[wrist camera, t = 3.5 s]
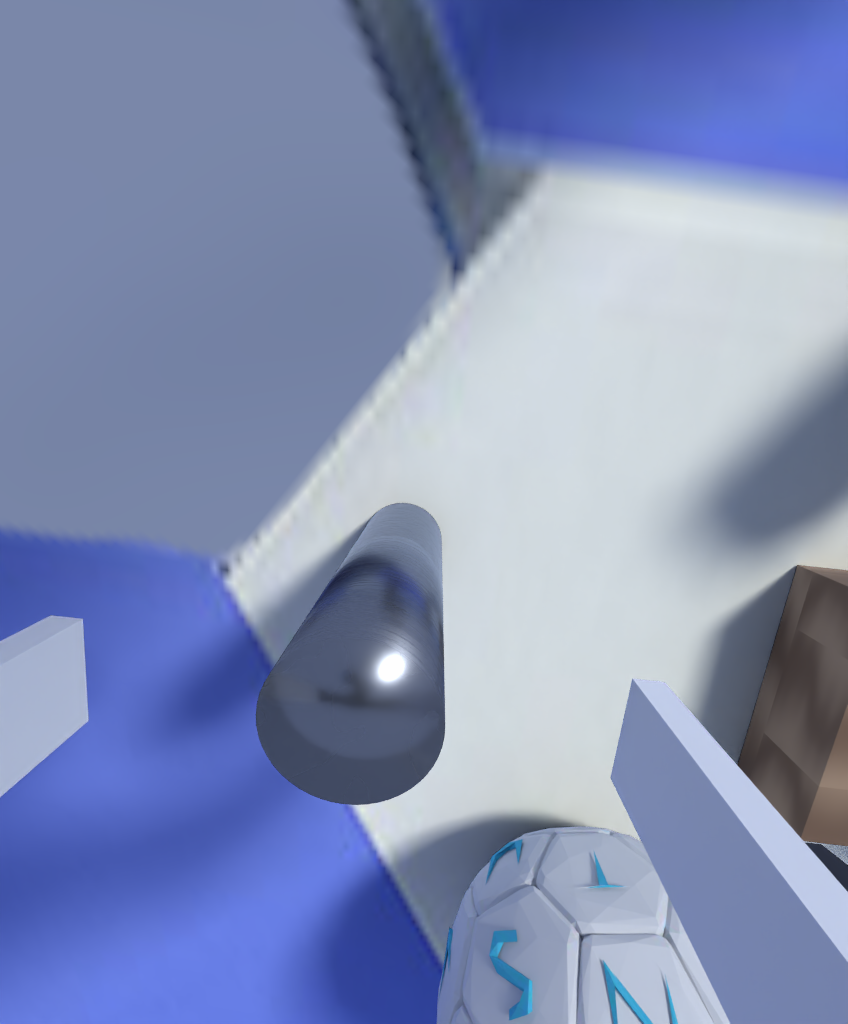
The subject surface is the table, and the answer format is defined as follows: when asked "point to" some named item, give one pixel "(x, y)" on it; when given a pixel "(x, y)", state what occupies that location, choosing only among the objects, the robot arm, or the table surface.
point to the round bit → (365, 670)
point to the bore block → (806, 711)
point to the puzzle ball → (572, 939)
